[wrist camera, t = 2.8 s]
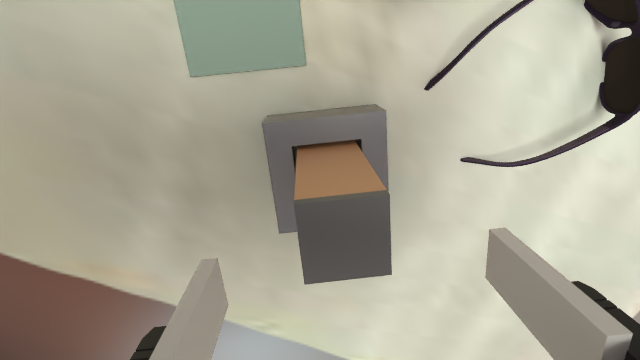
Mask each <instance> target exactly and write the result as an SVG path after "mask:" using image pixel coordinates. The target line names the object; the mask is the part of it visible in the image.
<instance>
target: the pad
mask: <svg viewBox="0 0 640 360" xmlns="http://www.w3.org/2000/svg"><path fill="white" fill-rule="evenodd" d="M174 5H175V9H176V14H177V18H178V23H179V28H180V32H181V37H182V41H183V46H184V50H185V55H186V59H187V64H188V68H189V73H190V77H197V76H207V75H216V74H226V73H236V72H246V71H255V70H265V69H275V68H284V67H294V66H304V65H306V61H305V52H304V42H303V33H302V23H301V14H300V4H299V0H174Z"/></svg>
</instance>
